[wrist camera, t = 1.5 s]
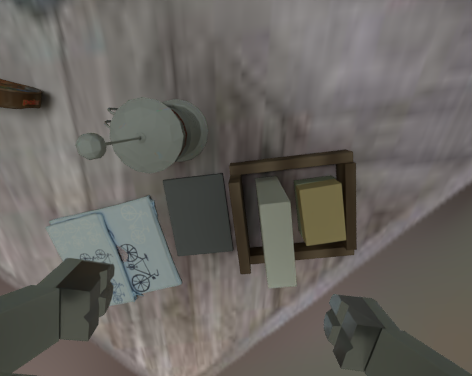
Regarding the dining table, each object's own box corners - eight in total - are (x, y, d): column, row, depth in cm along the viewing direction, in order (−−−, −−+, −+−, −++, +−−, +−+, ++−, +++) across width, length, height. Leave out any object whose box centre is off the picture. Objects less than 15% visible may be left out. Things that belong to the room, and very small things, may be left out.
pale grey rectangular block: (276, 175, 43) (290, 201, 29) (281, 236, 46) (296, 286, 32) (255, 178, 43) (259, 204, 30) (261, 238, 46) (268, 288, 32)
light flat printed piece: (50, 219, 47) (40, 224, 45) (154, 192, 45) (150, 196, 43) (90, 306, 51) (84, 314, 49) (187, 286, 49) (184, 293, 47)
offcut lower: (329, 174, 43) (335, 178, 40) (332, 224, 45) (338, 232, 42) (293, 179, 43) (296, 184, 41) (298, 229, 46) (301, 236, 43)
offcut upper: (334, 178, 40) (341, 183, 37) (339, 231, 42) (346, 240, 39) (295, 185, 41) (299, 190, 38) (302, 237, 43) (306, 246, 40)
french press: (196, 170, 43) (134, 235, 19) (129, 144, 42) (-24, 178, 18) (217, 113, 41) (175, 103, 17) (146, 84, 40) (-5, 31, 16)
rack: (345, 149, 41) (368, 156, 34) (347, 246, 46) (367, 272, 38) (230, 163, 43) (226, 172, 35) (242, 256, 47) (241, 283, 39)
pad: (222, 173, 43) (222, 173, 42) (233, 249, 47) (233, 250, 46) (163, 179, 44) (162, 180, 43) (178, 254, 47) (177, 256, 47)
